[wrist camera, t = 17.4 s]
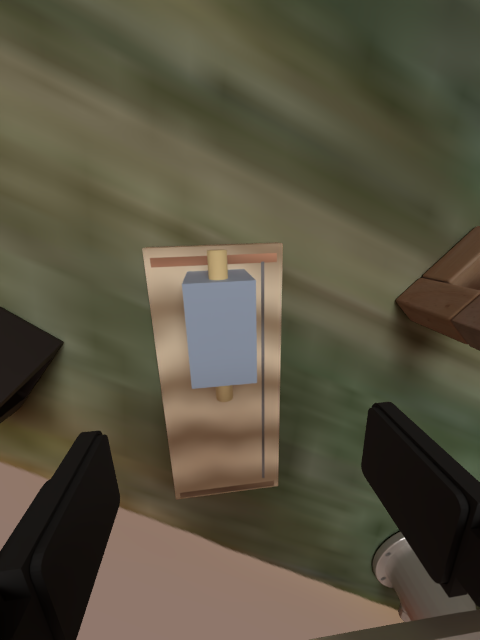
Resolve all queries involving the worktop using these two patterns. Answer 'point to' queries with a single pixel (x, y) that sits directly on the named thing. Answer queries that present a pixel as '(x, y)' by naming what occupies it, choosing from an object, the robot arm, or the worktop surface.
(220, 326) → the grey block on dowel
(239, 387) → the maple board
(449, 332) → the wooden block
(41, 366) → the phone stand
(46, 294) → the worktop surface
